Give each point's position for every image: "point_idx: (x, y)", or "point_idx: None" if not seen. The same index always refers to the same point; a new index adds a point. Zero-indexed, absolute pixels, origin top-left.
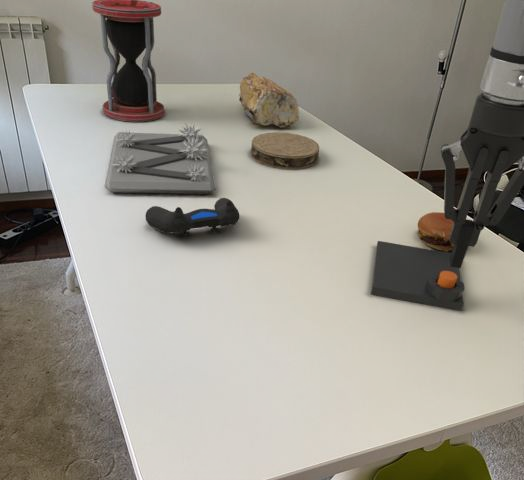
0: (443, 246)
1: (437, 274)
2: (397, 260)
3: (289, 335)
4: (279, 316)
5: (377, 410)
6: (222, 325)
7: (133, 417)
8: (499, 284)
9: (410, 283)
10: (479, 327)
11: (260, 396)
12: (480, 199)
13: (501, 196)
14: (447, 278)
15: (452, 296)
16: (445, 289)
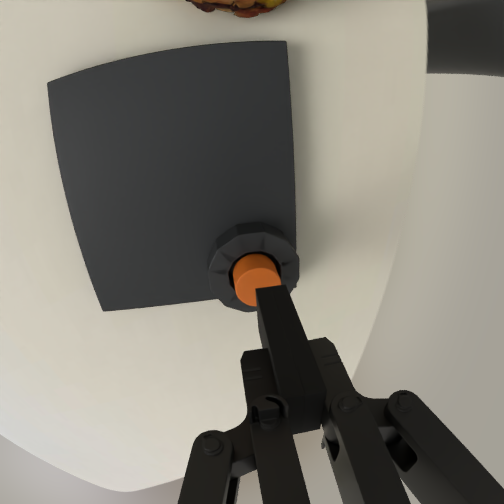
0: (240, 11)
1: (229, 247)
2: (113, 166)
3: (73, 409)
4: (42, 386)
5: None
6: (19, 406)
7: (63, 469)
8: (384, 129)
9: (170, 265)
10: (321, 309)
11: (109, 458)
12: (353, 492)
13: (434, 486)
14: (255, 305)
15: None
16: None
